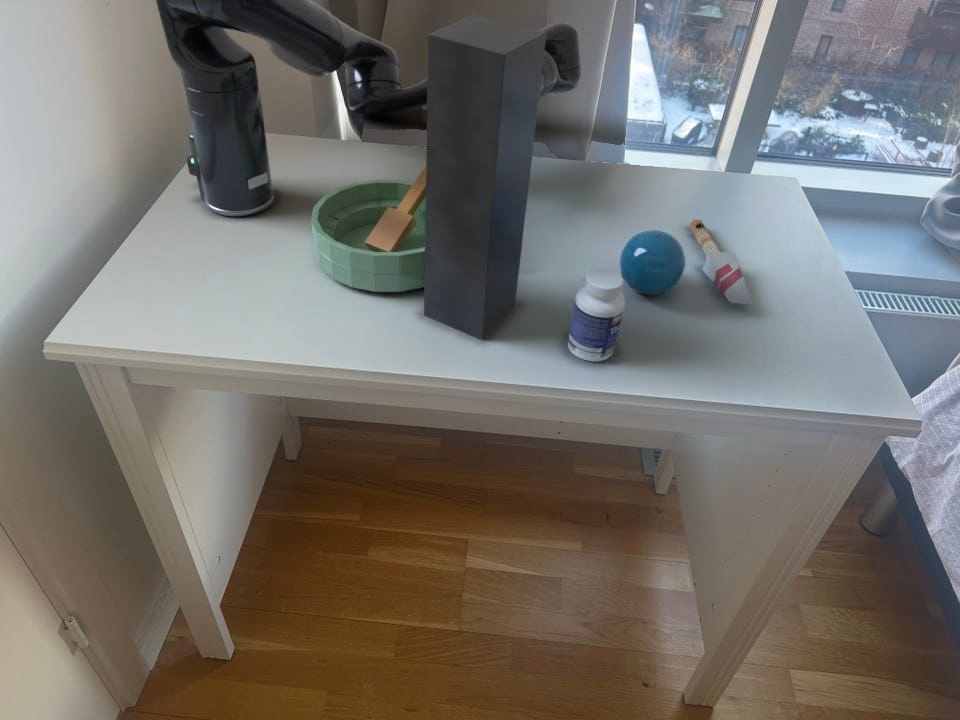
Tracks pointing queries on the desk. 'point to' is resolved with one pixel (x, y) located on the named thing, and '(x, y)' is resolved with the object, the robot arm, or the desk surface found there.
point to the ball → (652, 262)
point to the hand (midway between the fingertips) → (451, 123)
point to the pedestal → (478, 167)
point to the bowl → (349, 223)
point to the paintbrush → (721, 266)
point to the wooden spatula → (398, 220)
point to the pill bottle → (597, 315)
